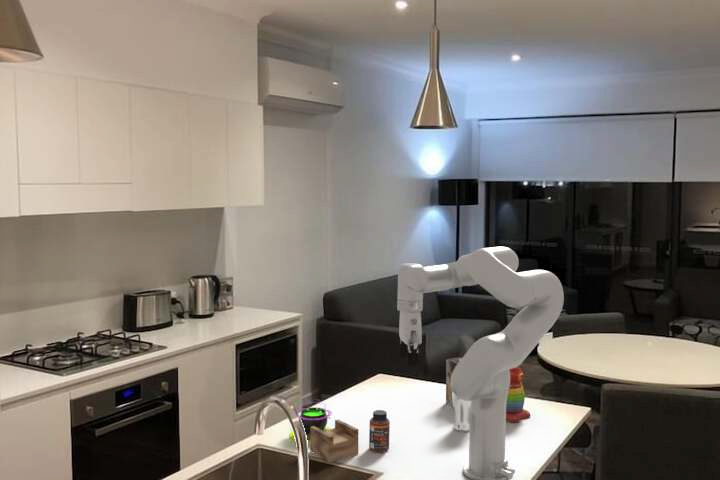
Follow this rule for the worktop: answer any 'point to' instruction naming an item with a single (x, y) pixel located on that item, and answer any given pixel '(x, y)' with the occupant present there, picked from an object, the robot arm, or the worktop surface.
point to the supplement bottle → (379, 432)
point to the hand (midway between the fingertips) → (408, 360)
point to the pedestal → (334, 441)
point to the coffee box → (449, 369)
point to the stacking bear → (515, 397)
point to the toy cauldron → (313, 420)
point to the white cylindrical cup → (461, 414)
